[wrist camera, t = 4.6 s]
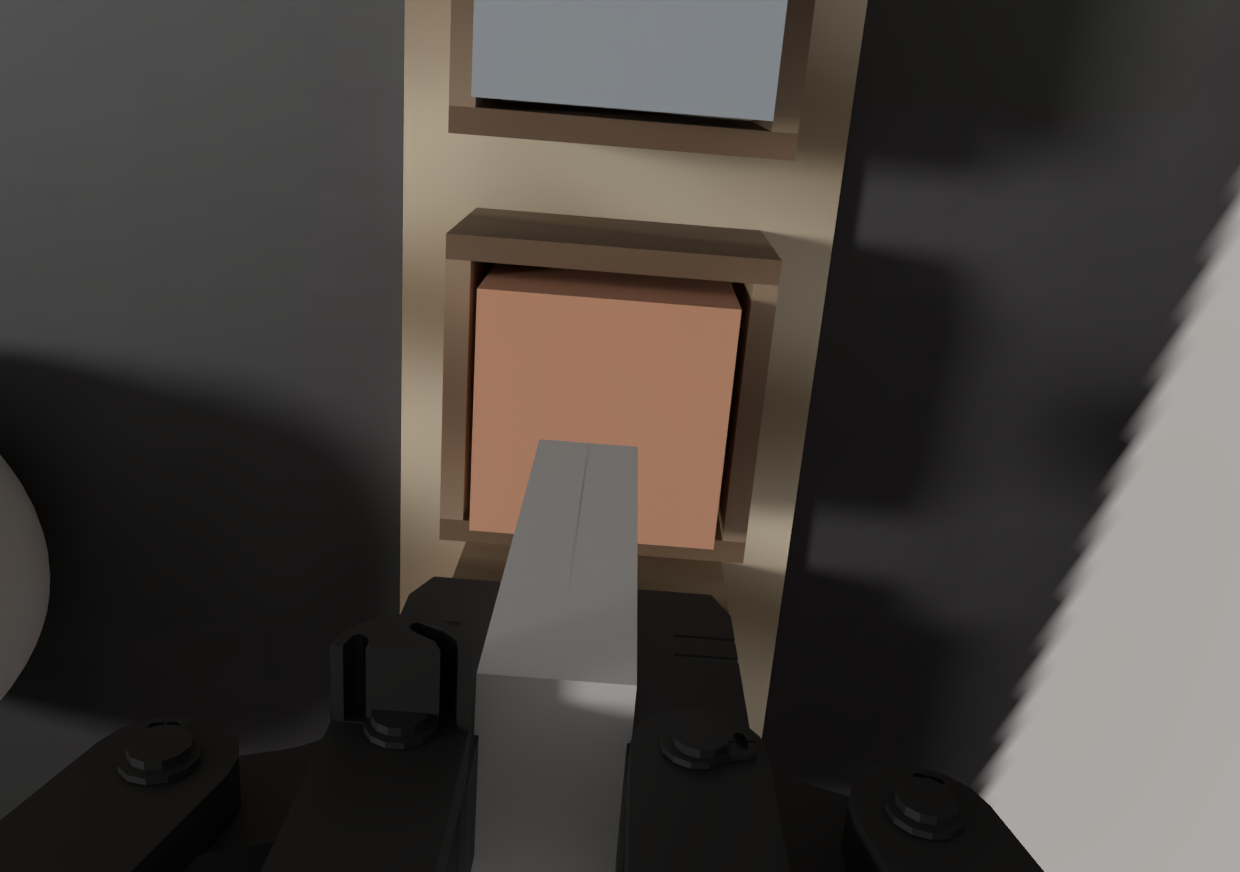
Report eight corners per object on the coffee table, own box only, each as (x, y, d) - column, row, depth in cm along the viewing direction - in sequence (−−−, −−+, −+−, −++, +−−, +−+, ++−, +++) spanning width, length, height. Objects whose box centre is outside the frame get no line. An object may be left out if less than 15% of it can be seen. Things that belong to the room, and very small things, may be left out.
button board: (749, 802, 30) (766, 921, 26) (402, 775, 30) (363, 890, 26) (897, -241, 22) (958, -315, 17) (412, -281, 22) (356, -365, 17)
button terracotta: (702, 477, 25) (713, 549, 22) (495, 461, 25) (468, 530, 22) (726, 270, 24) (741, 309, 20) (503, 252, 24) (477, 288, 20)
